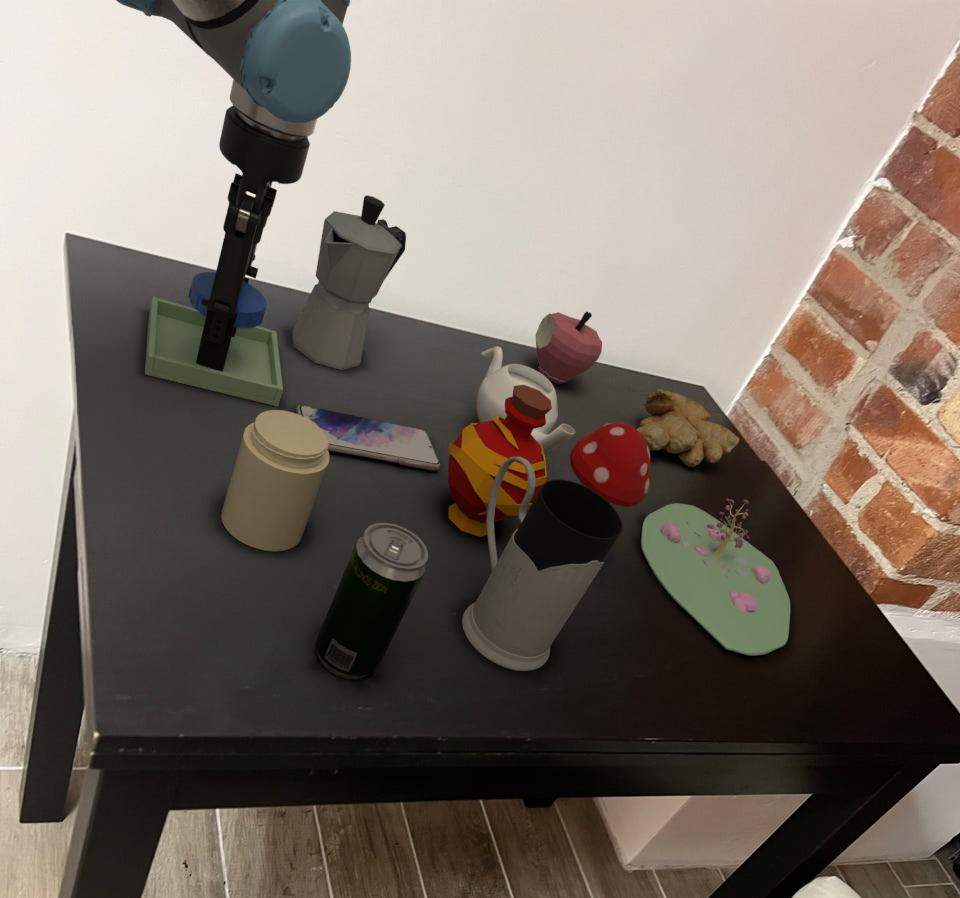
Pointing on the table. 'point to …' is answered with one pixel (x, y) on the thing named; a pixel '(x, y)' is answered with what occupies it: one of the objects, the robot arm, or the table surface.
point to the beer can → (371, 600)
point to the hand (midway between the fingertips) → (216, 348)
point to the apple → (566, 346)
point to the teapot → (501, 388)
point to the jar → (275, 480)
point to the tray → (174, 359)
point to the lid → (248, 305)
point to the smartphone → (374, 438)
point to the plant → (718, 577)
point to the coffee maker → (347, 285)
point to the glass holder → (539, 570)
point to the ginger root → (684, 429)
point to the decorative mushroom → (613, 463)
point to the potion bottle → (497, 461)
